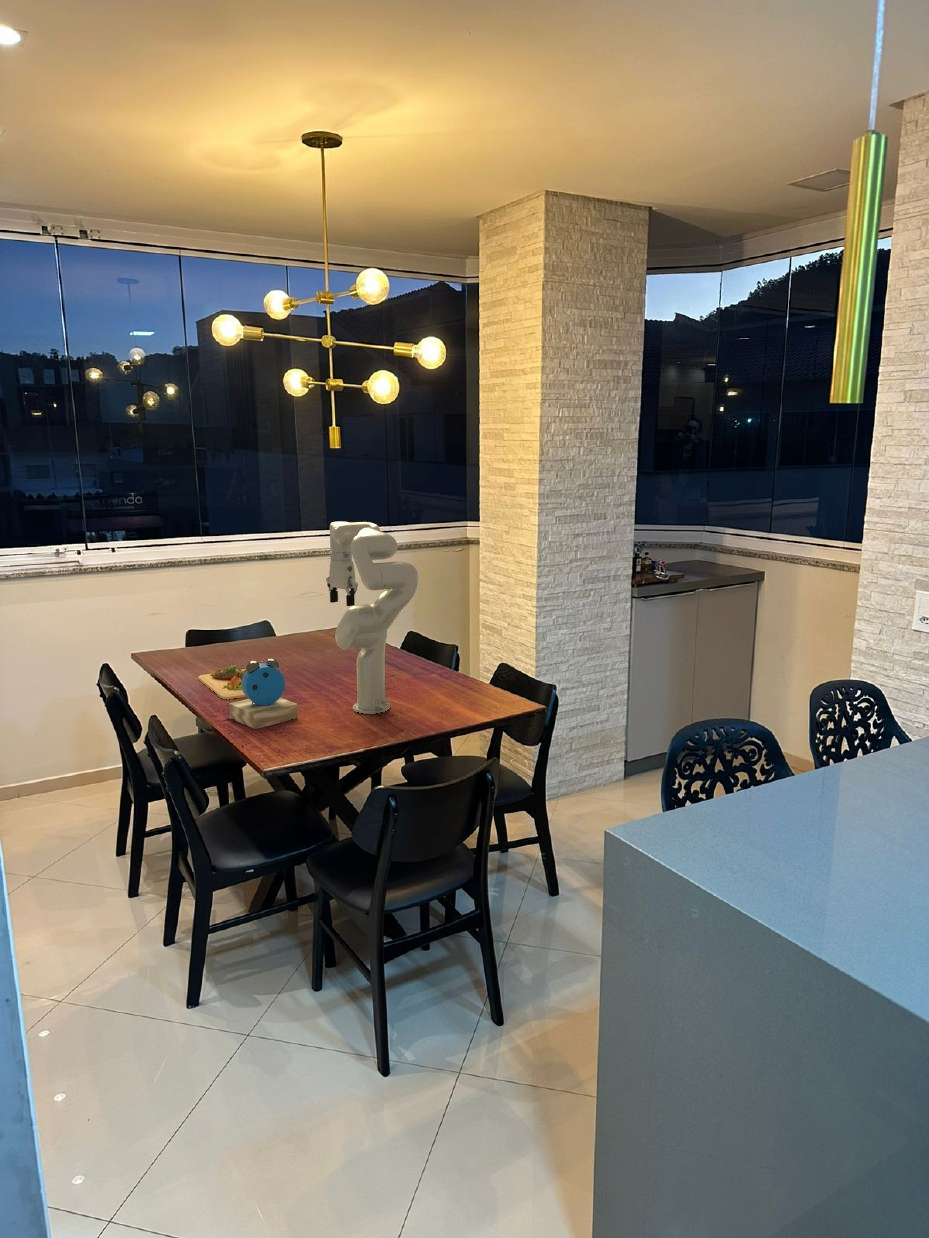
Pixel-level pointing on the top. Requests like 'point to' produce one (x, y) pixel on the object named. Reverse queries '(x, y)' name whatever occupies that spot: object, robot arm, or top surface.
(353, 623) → the robot arm
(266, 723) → the wooden box
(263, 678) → the alarm clock
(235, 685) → the cutting board
